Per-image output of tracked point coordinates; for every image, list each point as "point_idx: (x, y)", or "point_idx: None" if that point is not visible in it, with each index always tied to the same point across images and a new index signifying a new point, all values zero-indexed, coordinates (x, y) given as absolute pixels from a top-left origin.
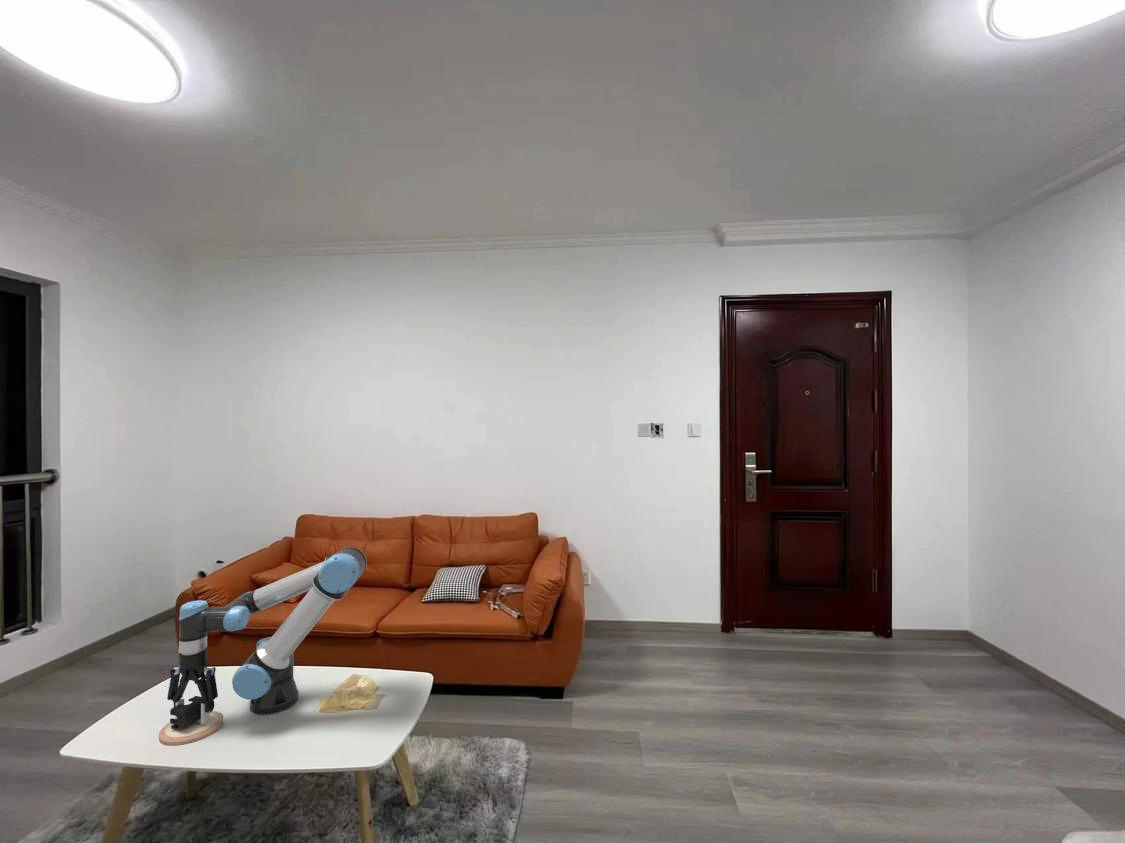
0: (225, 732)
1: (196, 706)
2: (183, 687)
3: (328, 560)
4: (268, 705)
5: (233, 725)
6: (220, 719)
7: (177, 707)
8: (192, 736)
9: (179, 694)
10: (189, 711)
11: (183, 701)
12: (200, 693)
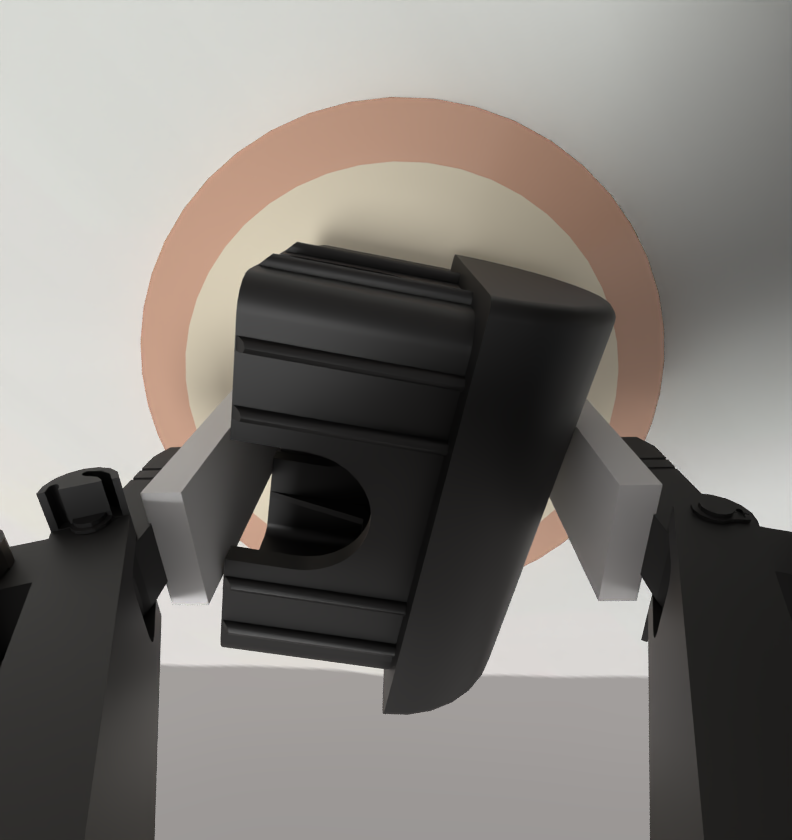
0: (731, 398)
1: (512, 569)
2: (136, 828)
3: None
4: None
5: (756, 286)
6: (628, 283)
7: (290, 643)
8: (536, 544)
9: (151, 695)
10: (490, 643)
11: (201, 488)
12: (651, 757)
